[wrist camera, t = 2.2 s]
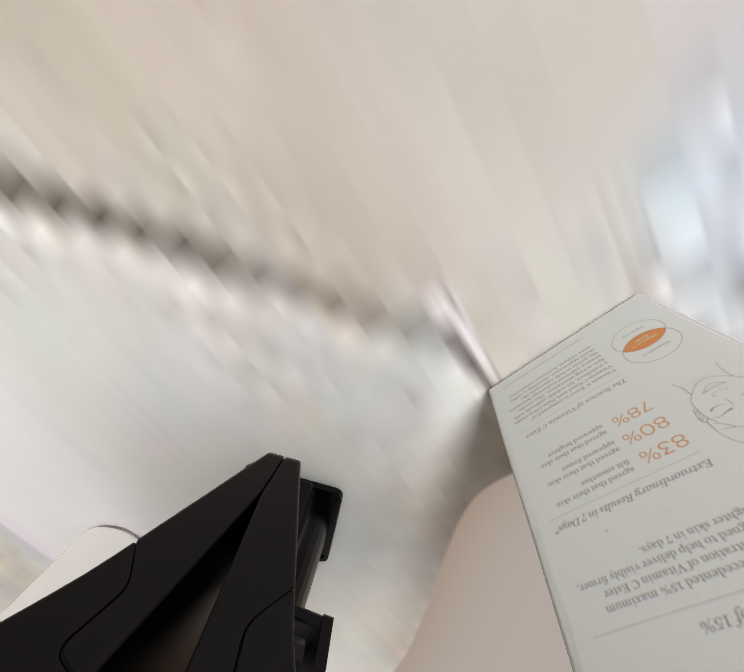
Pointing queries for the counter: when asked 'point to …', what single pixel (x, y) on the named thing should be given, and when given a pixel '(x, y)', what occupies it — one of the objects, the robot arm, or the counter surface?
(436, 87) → the counter surface
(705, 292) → the counter surface
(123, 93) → the counter surface
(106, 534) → the can
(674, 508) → the small box
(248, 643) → the robot arm
